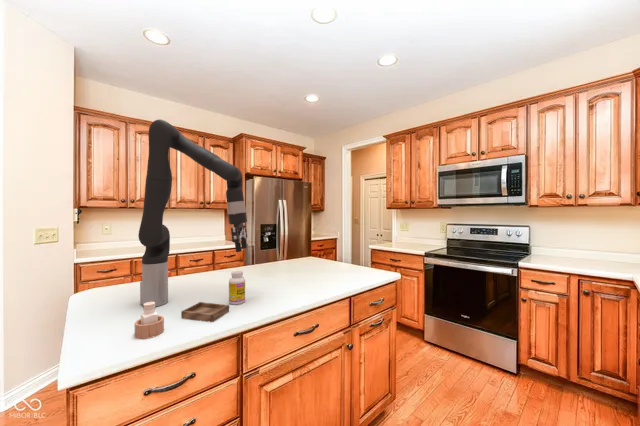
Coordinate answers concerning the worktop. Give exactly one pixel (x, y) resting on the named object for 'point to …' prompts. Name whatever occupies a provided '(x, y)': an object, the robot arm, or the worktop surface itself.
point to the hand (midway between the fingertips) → (241, 250)
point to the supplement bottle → (236, 288)
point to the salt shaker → (149, 314)
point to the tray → (205, 311)
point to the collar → (149, 328)
